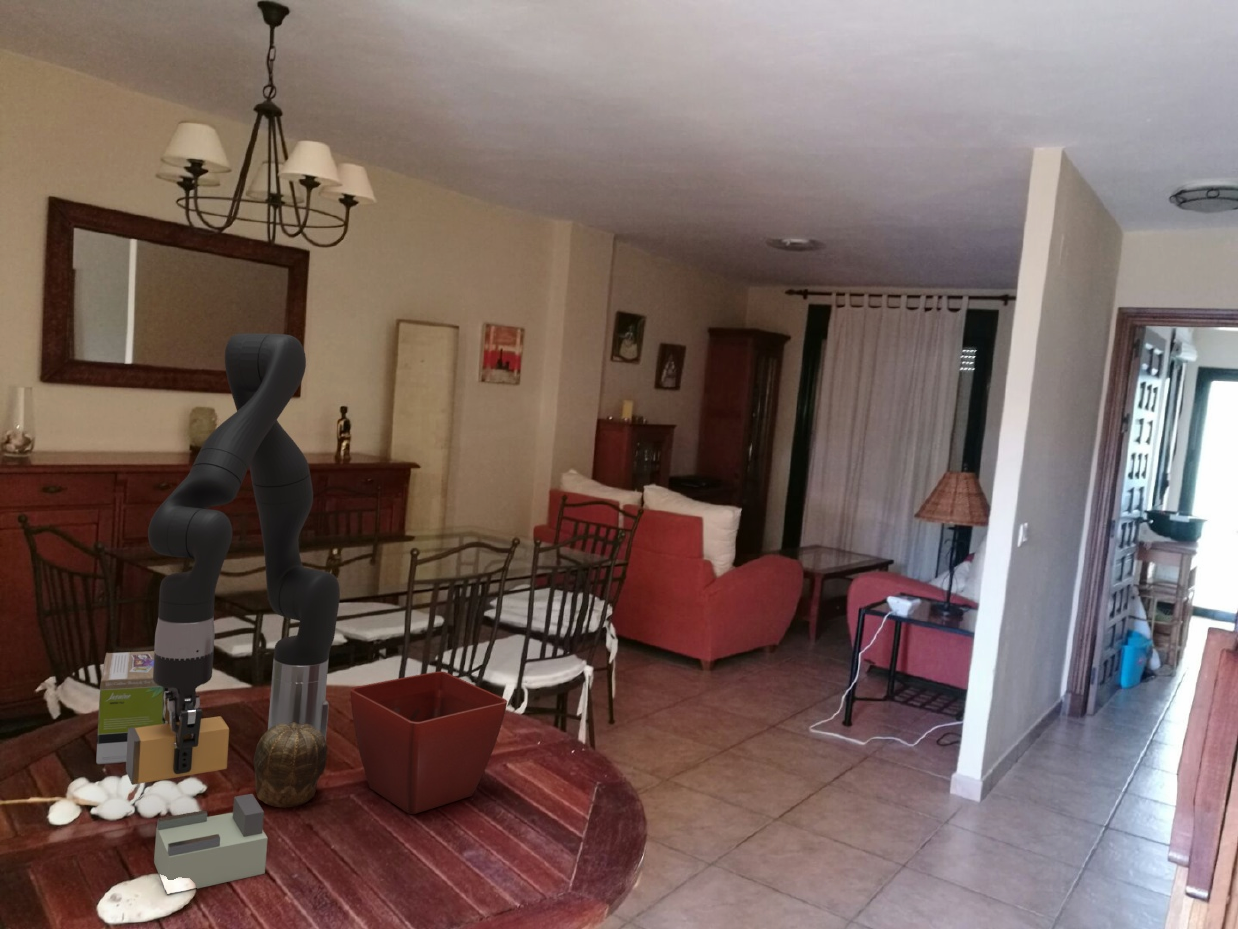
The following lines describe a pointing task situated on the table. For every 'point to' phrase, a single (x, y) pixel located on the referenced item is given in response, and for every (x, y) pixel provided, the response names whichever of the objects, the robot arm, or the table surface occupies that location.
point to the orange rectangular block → (156, 751)
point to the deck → (213, 844)
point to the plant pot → (425, 737)
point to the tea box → (126, 702)
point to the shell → (289, 764)
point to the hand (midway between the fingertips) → (177, 763)
